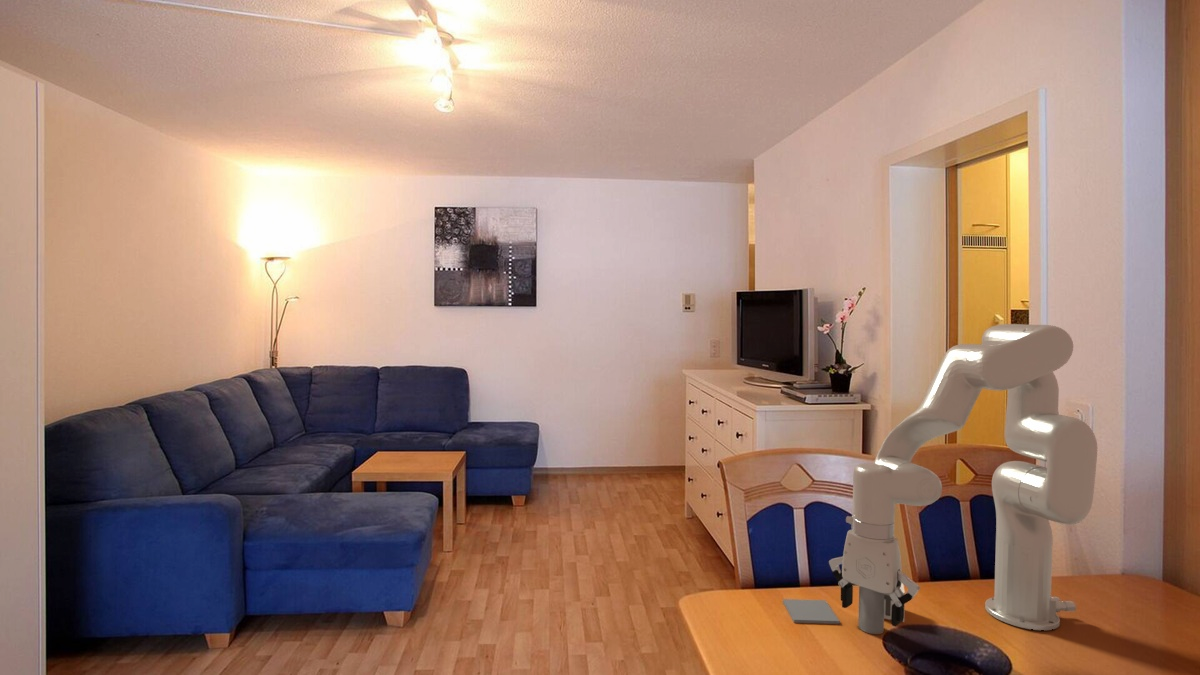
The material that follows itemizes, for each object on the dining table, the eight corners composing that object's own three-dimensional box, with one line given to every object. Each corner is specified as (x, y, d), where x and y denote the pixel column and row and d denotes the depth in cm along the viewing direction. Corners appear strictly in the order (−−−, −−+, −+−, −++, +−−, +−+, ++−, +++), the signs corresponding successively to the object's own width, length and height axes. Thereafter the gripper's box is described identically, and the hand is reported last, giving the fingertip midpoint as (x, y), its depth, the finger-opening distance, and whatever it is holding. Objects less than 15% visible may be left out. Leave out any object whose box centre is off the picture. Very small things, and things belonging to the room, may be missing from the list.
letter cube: (870, 604, 131) (871, 576, 131) (902, 609, 129) (902, 581, 129) (871, 617, 125) (872, 588, 125) (904, 623, 123) (905, 593, 123)
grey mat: (825, 602, 131) (825, 600, 131) (839, 624, 122) (839, 621, 122) (782, 601, 132) (782, 599, 132) (793, 622, 123) (794, 619, 123)
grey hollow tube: (878, 623, 123) (879, 572, 122) (887, 635, 118) (888, 582, 118) (855, 622, 123) (856, 571, 123) (862, 634, 119) (863, 581, 118)
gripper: (821, 521, 124) (820, 605, 124) (911, 545, 111) (909, 638, 112) (839, 513, 129) (838, 593, 129) (927, 535, 116) (925, 624, 117)
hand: (871, 614), depth 121 cm, fingers open, 9 cm apart
